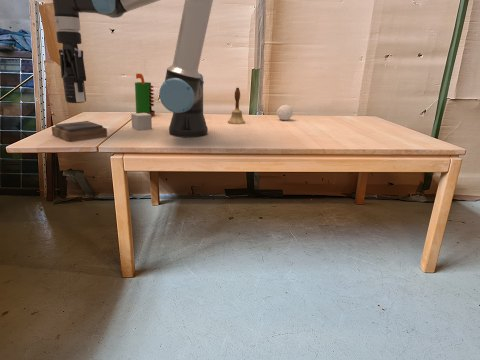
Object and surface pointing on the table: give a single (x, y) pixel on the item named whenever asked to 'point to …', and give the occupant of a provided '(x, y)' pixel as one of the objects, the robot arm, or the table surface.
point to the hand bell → (236, 111)
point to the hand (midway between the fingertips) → (75, 100)
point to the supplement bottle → (70, 86)
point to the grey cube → (141, 121)
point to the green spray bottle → (144, 96)
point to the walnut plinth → (79, 131)
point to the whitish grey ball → (285, 112)
